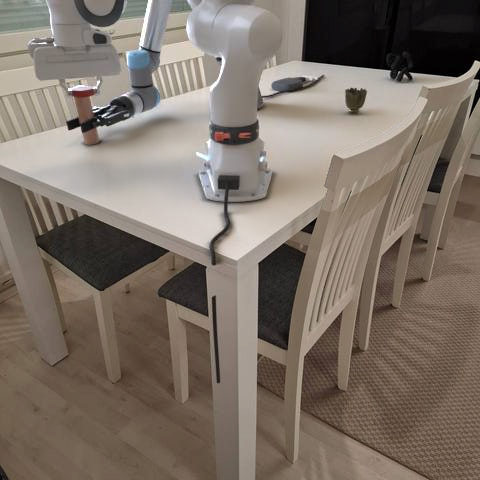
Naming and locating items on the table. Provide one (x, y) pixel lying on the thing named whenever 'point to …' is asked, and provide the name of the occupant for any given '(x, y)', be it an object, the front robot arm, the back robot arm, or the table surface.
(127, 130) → the table surface
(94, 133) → the jar
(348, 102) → the olive tapered piece
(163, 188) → the table surface
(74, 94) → the lid
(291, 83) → the spray bottle
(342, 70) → the table surface
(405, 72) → the squiggle
